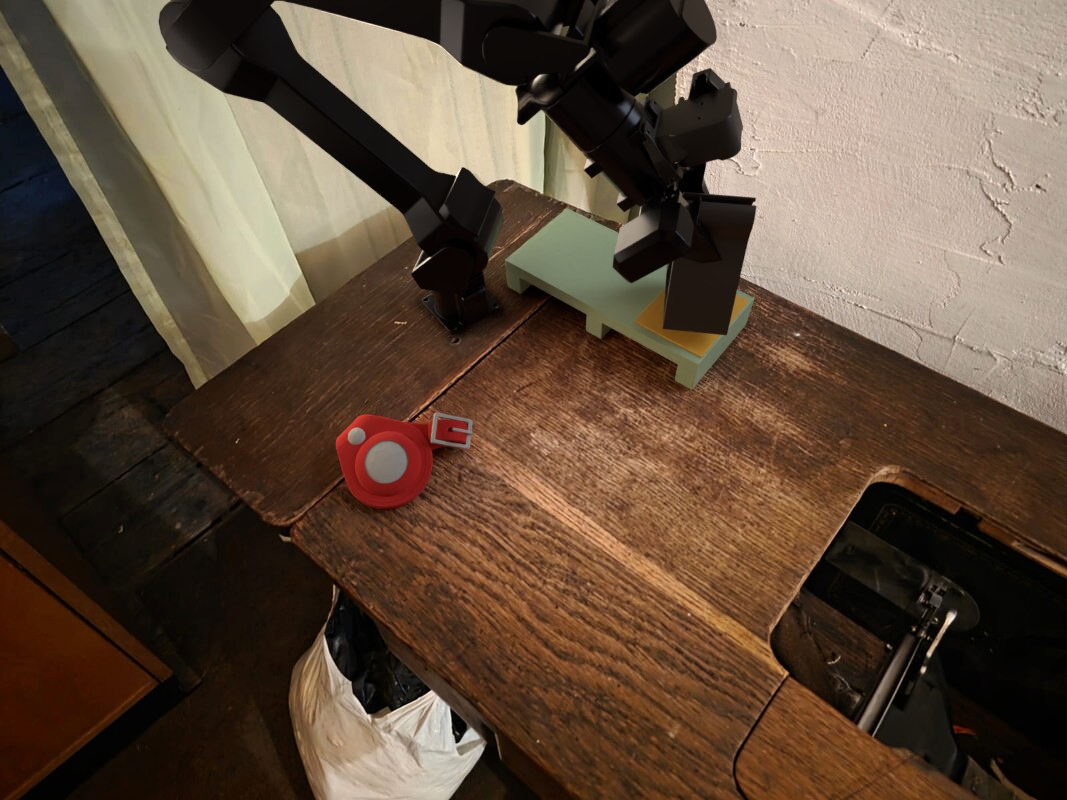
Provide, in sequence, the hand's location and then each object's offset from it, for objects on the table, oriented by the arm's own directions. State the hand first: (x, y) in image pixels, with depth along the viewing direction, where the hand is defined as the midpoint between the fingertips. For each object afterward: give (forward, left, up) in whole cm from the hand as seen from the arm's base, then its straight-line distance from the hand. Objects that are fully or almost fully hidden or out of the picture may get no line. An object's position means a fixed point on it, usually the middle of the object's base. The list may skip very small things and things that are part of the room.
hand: (720, 250), depth 60 cm
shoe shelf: (-9, -3, -12) cm, 15 cm away
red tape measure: (-6, -32, -12) cm, 34 cm away
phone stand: (-1, -1, -7) cm, 7 cm away
